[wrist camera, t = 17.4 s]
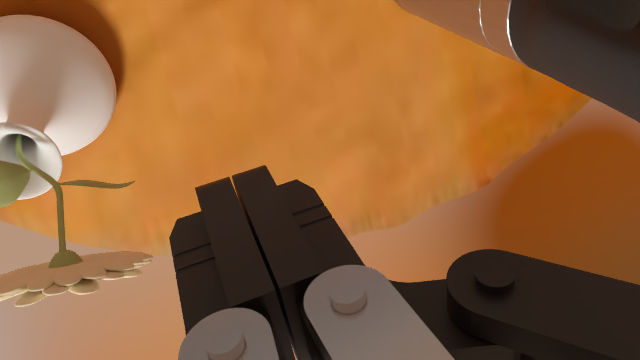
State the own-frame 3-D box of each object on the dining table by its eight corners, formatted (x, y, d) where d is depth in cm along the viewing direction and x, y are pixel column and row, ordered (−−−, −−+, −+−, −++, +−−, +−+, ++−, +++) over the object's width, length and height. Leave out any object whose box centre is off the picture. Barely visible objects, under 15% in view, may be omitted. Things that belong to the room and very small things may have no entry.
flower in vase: (-57, 129, 40) (-224, 392, 20) (-36, -15, 36) (-218, 130, 16) (117, 164, 46) (127, 390, 26) (152, 45, 42) (195, 203, 22)
